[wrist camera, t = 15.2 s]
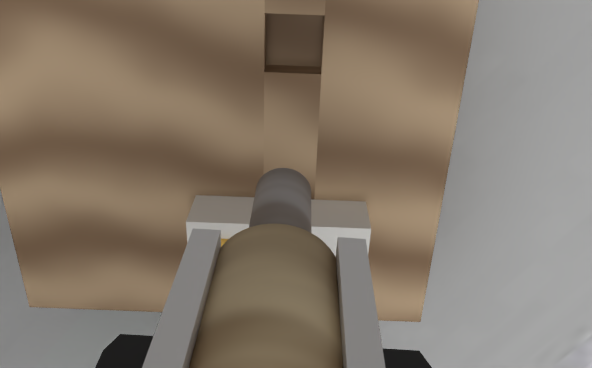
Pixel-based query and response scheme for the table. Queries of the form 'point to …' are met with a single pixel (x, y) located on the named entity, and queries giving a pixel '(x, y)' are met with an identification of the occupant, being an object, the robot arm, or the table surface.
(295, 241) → the awl
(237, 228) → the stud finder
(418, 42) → the wooden pallet
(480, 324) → the table surface
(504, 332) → the table surface
